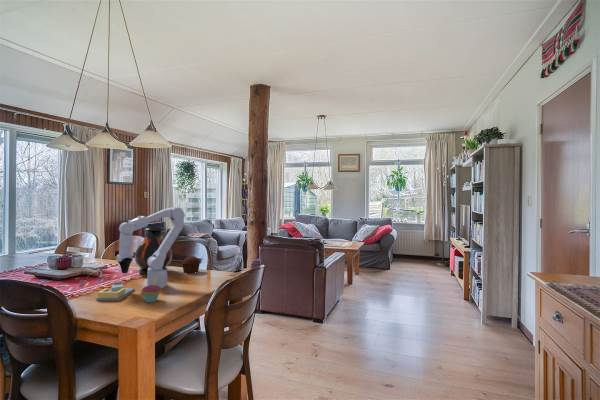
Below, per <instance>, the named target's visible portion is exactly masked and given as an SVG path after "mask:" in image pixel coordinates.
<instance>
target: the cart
mask: <svg viewBox="0 0 600 400" xmlns="http://www.w3.org/2000/svg"><path fill="white" fill-rule="evenodd" d="M123 286H124V284H123V283H122V281H115V282H113V284H112V285H111V289H112V290H111V289H110V290H111V292H118V291H119V290H121V289H123V288H124V287H123Z"/></svg>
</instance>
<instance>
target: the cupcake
mask: <svg viewBox="0 0 600 400" xmlns="http://www.w3.org/2000/svg"><path fill="white" fill-rule="evenodd" d="M156 275H157V274H156ZM156 277H157V276H155V279H154V285H149V286H147V287H145V286H144V287H143V288H142V289H141V291H140V294H141V295H142V296H143V297H144V301H145V302H147V303H154V302H157V301H158V297H159V295H160V294H161V293H162V288H160V286H157V285H155V282H156Z"/></svg>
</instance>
